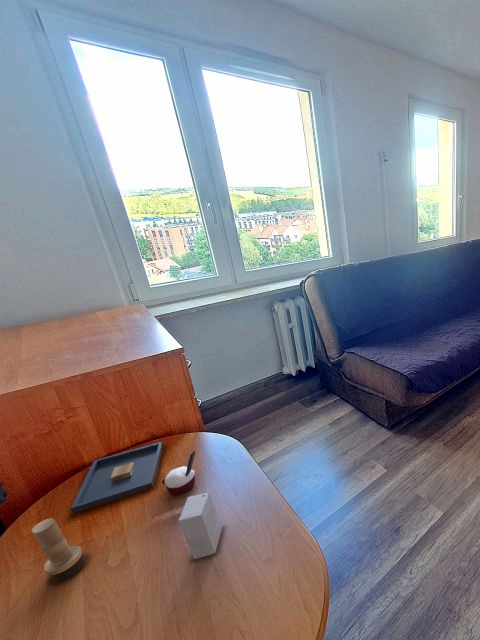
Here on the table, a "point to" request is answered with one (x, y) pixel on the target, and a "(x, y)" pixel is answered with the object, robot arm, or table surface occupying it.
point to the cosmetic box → (200, 525)
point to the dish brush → (58, 551)
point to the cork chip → (122, 472)
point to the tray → (104, 490)
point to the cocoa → (180, 478)
